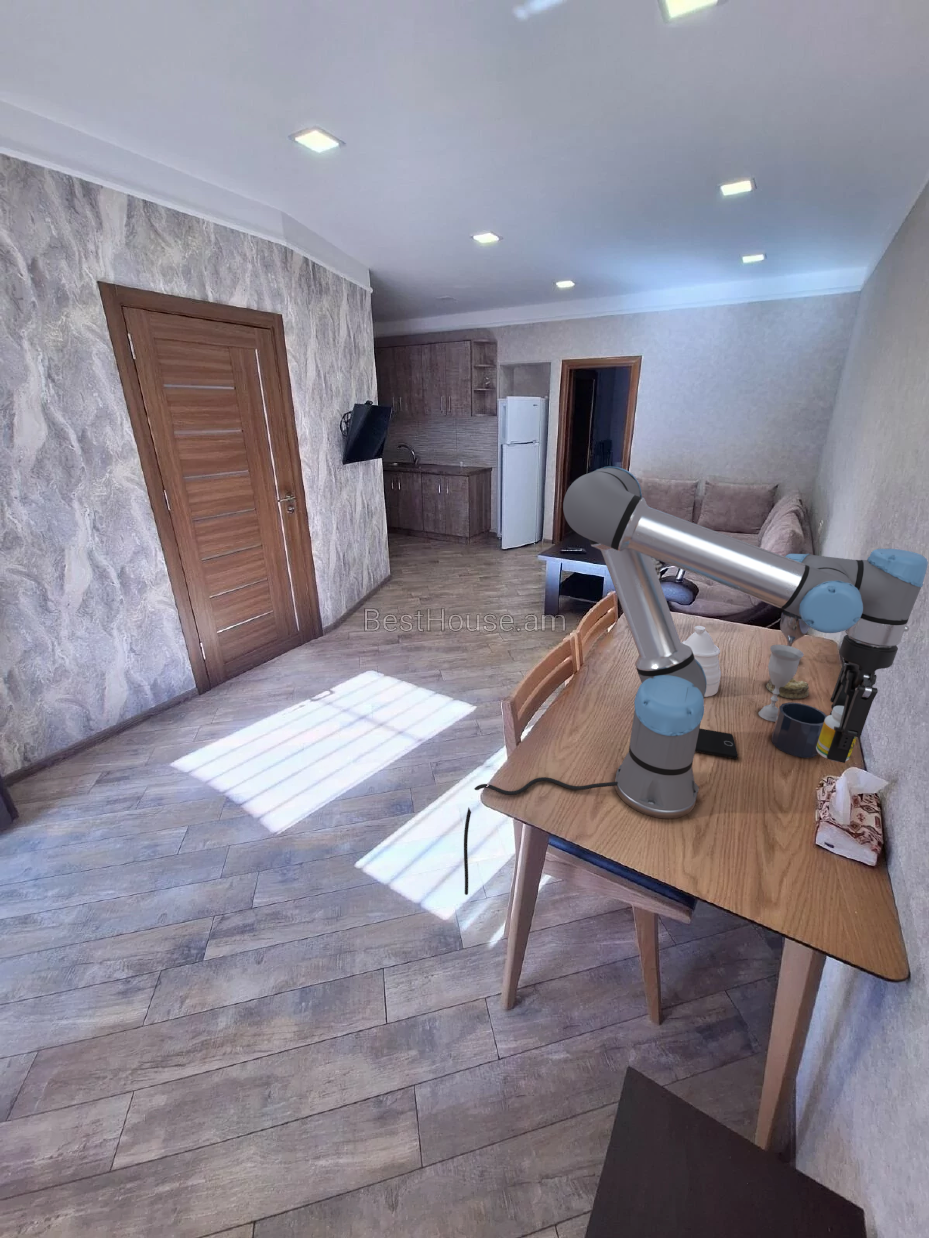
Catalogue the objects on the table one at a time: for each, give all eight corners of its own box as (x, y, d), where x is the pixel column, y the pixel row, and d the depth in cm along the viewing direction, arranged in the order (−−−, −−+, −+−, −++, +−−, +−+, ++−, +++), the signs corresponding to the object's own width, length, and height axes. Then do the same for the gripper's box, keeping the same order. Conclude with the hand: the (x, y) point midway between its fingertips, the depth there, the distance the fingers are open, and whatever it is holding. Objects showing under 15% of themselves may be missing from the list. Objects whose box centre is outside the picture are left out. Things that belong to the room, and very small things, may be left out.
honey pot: (704, 702, 132) (717, 639, 125) (659, 684, 141) (668, 625, 134) (725, 685, 139) (738, 626, 133) (681, 669, 148) (691, 613, 142)
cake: (792, 704, 131) (795, 687, 129) (757, 688, 139) (760, 671, 137) (817, 693, 134) (821, 676, 132) (781, 678, 143) (785, 661, 141)
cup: (797, 761, 109) (807, 728, 106) (761, 737, 117) (769, 706, 114) (828, 752, 112) (838, 720, 108) (791, 730, 120) (800, 699, 116)
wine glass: (801, 657, 155) (813, 612, 149) (800, 667, 149) (813, 621, 143) (771, 651, 159) (782, 607, 153) (770, 661, 153) (781, 616, 147)
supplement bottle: (828, 743, 99) (842, 701, 95) (855, 759, 94) (872, 715, 90) (808, 748, 97) (822, 706, 93) (835, 765, 92) (851, 721, 89)
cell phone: (737, 759, 109) (738, 756, 109) (650, 744, 115) (650, 740, 114) (731, 737, 117) (732, 733, 117) (650, 723, 122) (650, 720, 122)
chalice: (790, 725, 121) (809, 659, 115) (760, 722, 123) (776, 656, 116) (779, 709, 128) (796, 645, 121) (750, 706, 129) (765, 643, 123)
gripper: (915, 666, 77) (868, 786, 86) (884, 624, 92) (847, 730, 101) (855, 656, 80) (816, 773, 89) (835, 617, 95) (803, 720, 104)
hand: (832, 750), depth 95 cm, fingers closed on supplement bottle, 5 cm apart
